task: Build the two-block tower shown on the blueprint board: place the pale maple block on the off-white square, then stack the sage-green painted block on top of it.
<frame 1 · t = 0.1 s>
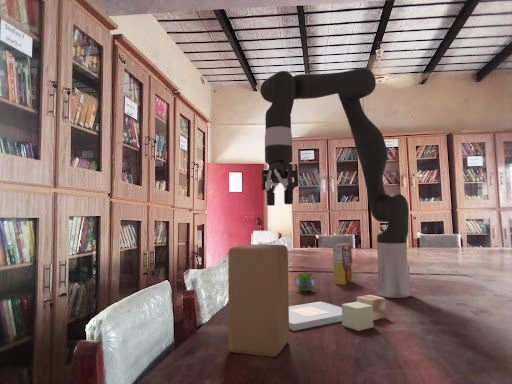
hand: (279, 204, 98), 29 cm above the table, fingers open, 8 cm apart
sage cap block: (357, 326, 85), on the table
wooden block: (259, 348, 72), on the table
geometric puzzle: (305, 292, 127), on the table
blueprint board: (308, 317, 93), on the table
maple block: (371, 317, 93), on the table
candy box: (343, 283, 142), on the table
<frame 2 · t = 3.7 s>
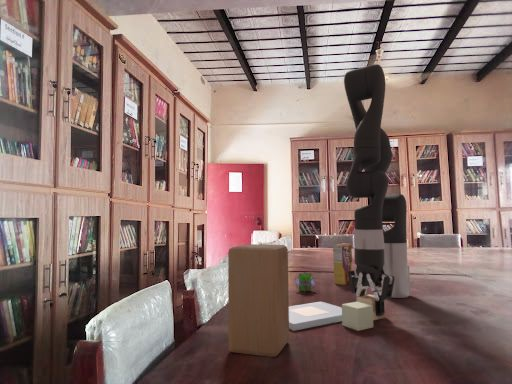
hand: (370, 312, 93), 1 cm above the table, fingers closed on maple block, 5 cm apart
maple block: (371, 316, 93), on the table, touching gripper
everything else where it was.
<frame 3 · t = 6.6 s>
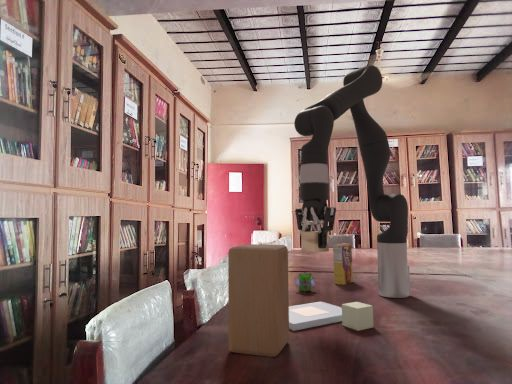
hand: (314, 247, 94), 18 cm above the table, fingers closed on maple block, 5 cm apart
maple block: (315, 251, 94), point 17 cm above the table, touching gripper
everything else where it was.
when the fingers open (4 cm above the table, at t = 9.9 s): maple block drops 1 cm, resting on blueprint board.
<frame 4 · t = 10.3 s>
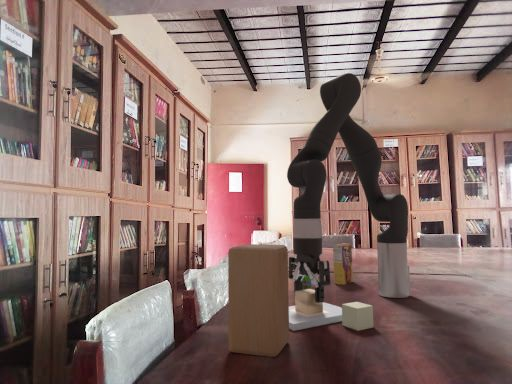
hand: (308, 299, 94), 5 cm above the table, fingers open, 8 cm apart
maple block: (308, 311, 93), point 2 cm above the table, touching blueprint board
everything else where it was.
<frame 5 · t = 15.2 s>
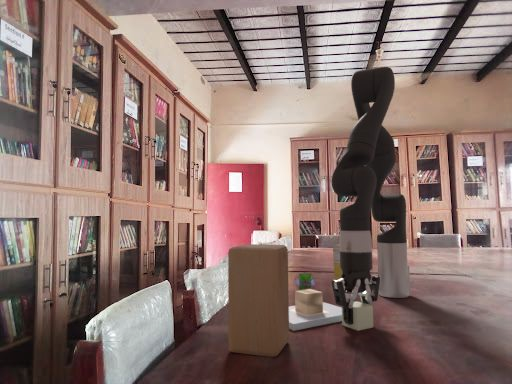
hand: (357, 321, 86), 1 cm above the table, fingers closed on sage cap block, 5 cm apart
sage cap block: (357, 326, 85), on the table, touching gripper
everything else where it was.
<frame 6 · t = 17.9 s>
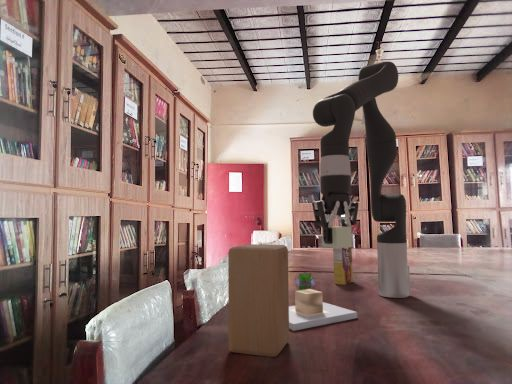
hand: (336, 242, 90), 19 cm above the table, fingers closed on sage cap block, 5 cm apart
sage cap block: (337, 247, 90), point 18 cm above the table, touching gripper
everything else where it was.
when the fingers open (9 cm above the table, at t = 20.8 s): sage cap block drops 1 cm, resting on maple block.
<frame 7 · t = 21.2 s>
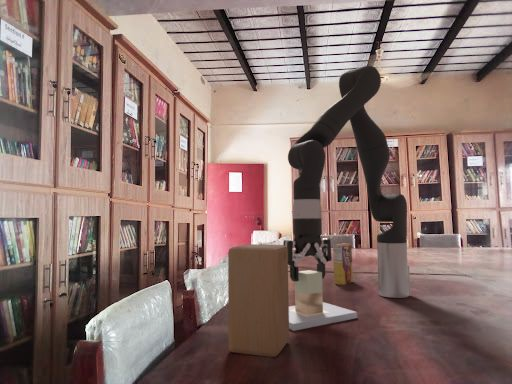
hand: (308, 279, 94), 10 cm above the table, fingers open, 8 cm apart
sage cap block: (308, 291, 94), point 7 cm above the table, touching maple block
maple block: (308, 311, 93), point 2 cm above the table, touching blueprint board, sage cap block
everything else where it was.
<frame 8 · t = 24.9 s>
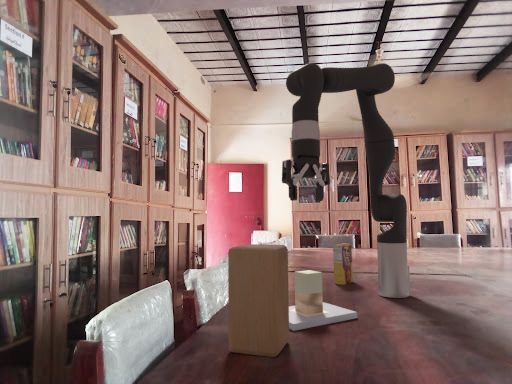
hand: (306, 200, 95), 30 cm above the table, fingers open, 8 cm apart
nothing on the table moved.
at the end: maple block 0.0 cm off-centre on the blueprint board, point 1.5 cm above the blueprint board's base; sage cap block 0.0 cm off-centre on the blueprint board, point 6.5 cm above the blueprint board's base; sage cap block tilted 0° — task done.
